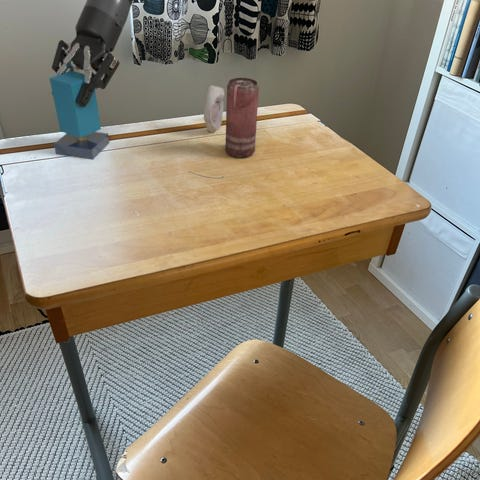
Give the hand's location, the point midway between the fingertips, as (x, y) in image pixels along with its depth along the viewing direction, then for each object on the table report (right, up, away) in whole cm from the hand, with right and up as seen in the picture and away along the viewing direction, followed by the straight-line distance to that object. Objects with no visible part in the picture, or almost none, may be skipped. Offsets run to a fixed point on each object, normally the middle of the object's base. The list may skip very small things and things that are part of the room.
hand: (68, 100), depth 97 cm
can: (+32, -7, +10) cm, 35 cm away
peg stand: (0, -6, +8) cm, 10 cm away
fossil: (+26, 0, +16) cm, 31 cm away
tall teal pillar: (+1, -4, +5) cm, 6 cm away
